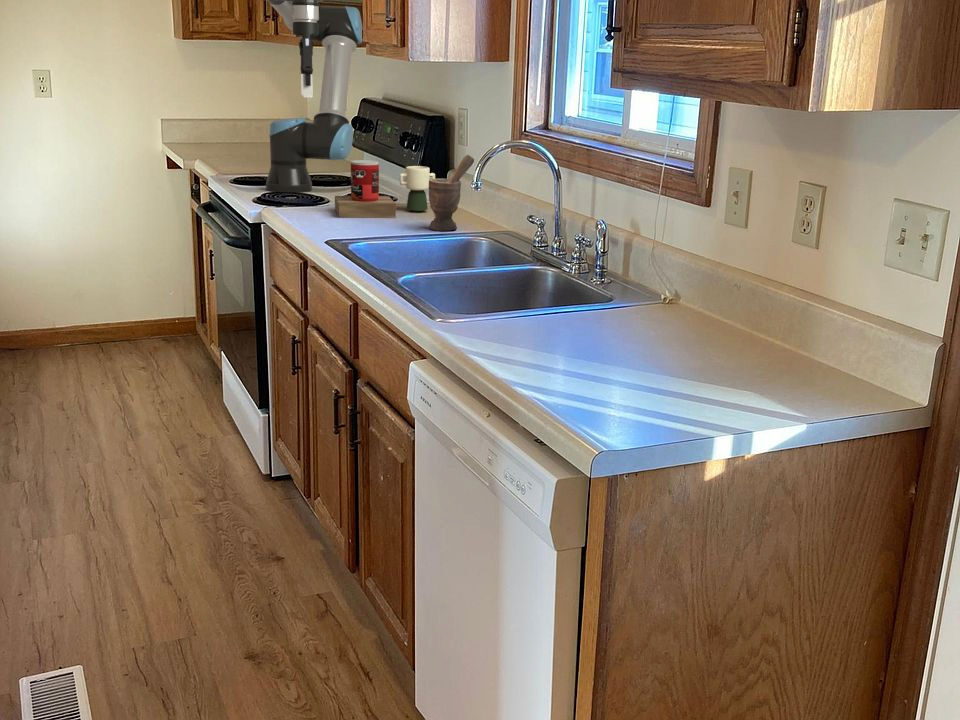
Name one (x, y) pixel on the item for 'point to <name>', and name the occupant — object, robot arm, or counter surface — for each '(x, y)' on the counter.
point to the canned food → (364, 180)
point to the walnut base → (365, 208)
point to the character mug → (417, 186)
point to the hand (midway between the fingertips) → (307, 96)
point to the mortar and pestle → (447, 197)
